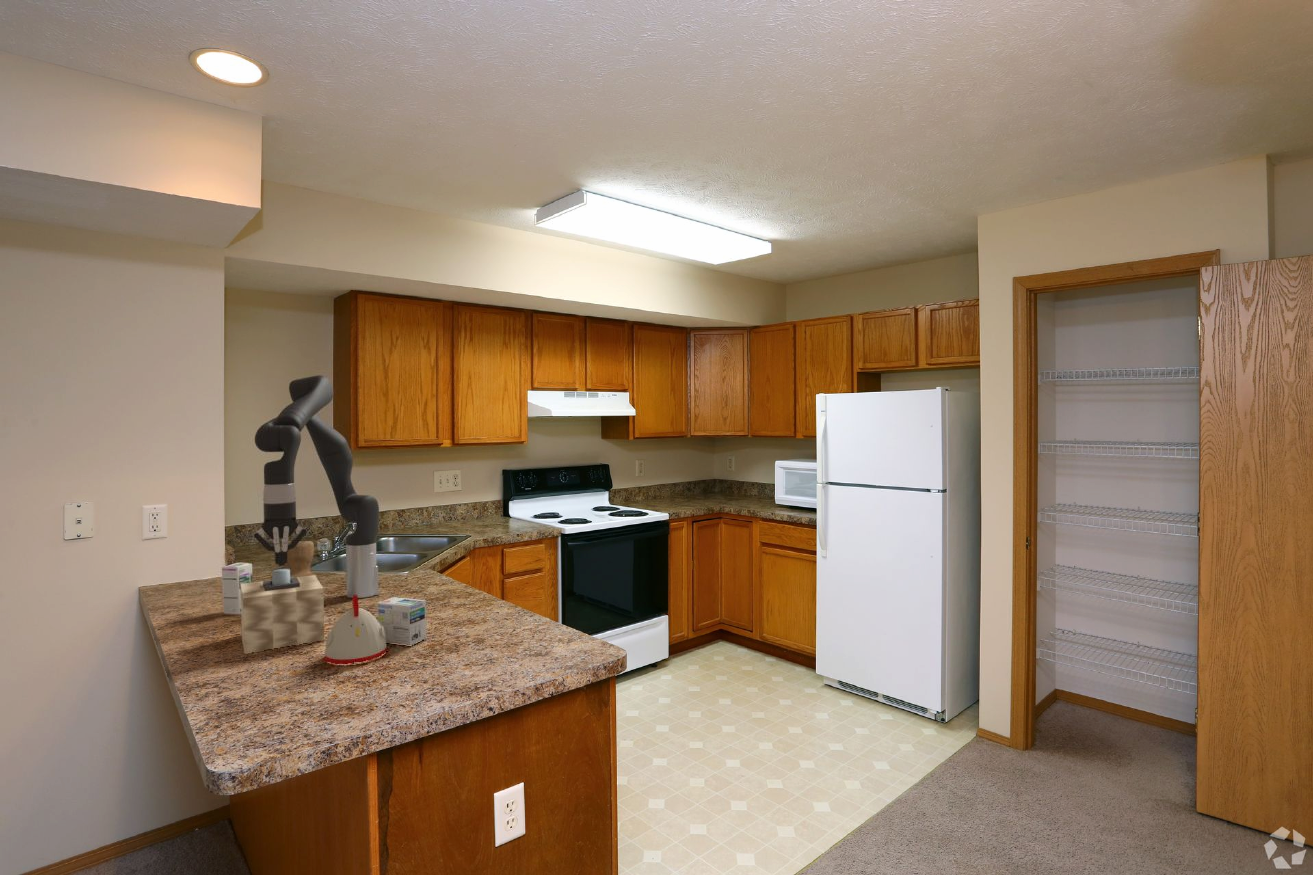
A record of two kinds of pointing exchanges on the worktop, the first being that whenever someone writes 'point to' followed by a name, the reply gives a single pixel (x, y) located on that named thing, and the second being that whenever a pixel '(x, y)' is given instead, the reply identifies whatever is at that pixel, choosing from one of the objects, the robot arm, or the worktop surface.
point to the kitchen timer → (355, 637)
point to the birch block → (281, 615)
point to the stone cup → (300, 559)
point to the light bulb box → (403, 620)
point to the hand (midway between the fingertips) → (281, 565)
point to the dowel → (280, 576)
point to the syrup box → (234, 585)
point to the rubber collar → (292, 584)
